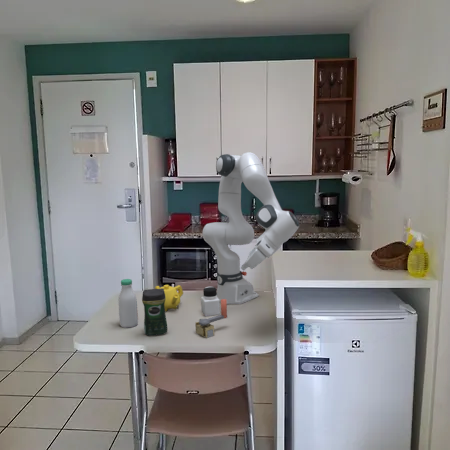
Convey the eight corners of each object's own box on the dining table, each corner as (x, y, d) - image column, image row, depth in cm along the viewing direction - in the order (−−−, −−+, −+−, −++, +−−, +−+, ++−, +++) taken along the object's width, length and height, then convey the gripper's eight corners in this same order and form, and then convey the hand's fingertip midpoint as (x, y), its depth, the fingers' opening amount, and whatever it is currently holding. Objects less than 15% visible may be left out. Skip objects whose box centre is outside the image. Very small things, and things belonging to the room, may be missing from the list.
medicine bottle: (220, 314, 195) (219, 289, 193) (205, 316, 193) (204, 291, 191) (216, 309, 202) (215, 284, 200) (201, 311, 200) (200, 286, 198)
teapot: (140, 306, 208) (139, 284, 206) (172, 298, 218) (171, 277, 216) (161, 318, 192) (159, 294, 190) (194, 309, 203) (193, 286, 201)
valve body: (194, 331, 177) (194, 322, 176) (204, 328, 180) (204, 319, 179) (205, 338, 170) (205, 328, 170) (215, 334, 173) (215, 325, 173)
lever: (203, 326, 171) (202, 308, 170) (197, 323, 175) (196, 305, 173) (229, 318, 179) (229, 300, 178) (223, 315, 183) (222, 297, 181)
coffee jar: (167, 327, 182) (165, 285, 178) (167, 335, 174) (165, 291, 171) (144, 329, 180) (141, 287, 177) (143, 337, 173) (141, 293, 169)
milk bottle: (137, 327, 183) (135, 282, 179) (119, 328, 182) (116, 283, 178) (138, 320, 190) (135, 277, 187) (120, 321, 189) (117, 278, 186)
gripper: (262, 235, 182) (239, 257, 185) (259, 244, 162) (234, 269, 165) (272, 245, 182) (250, 267, 185) (271, 256, 162) (245, 280, 165)
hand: (242, 268), depth 175 cm, fingers closed
